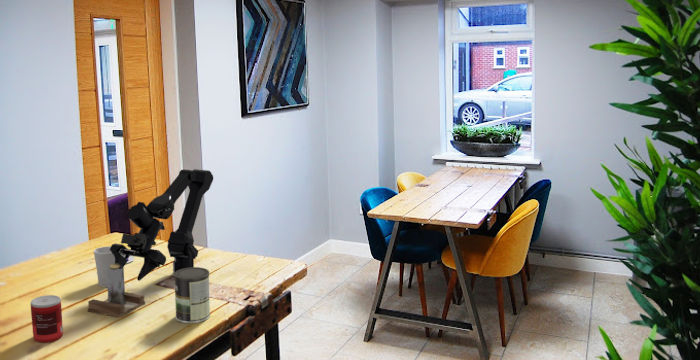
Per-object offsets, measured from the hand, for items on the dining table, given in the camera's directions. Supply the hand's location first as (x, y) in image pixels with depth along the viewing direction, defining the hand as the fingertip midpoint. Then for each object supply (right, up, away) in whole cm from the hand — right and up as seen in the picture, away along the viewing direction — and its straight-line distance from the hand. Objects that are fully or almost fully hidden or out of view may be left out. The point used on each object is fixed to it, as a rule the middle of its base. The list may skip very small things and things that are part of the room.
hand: (126, 277), depth 211 cm
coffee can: (+23, -11, -9) cm, 27 cm away
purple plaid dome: (-17, 0, +42) cm, 45 cm away
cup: (-12, -5, +18) cm, 22 cm away
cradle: (-2, -9, -3) cm, 10 cm away
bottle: (-2, -8, -3) cm, 9 cm away
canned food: (-14, -13, -24) cm, 31 cm away
